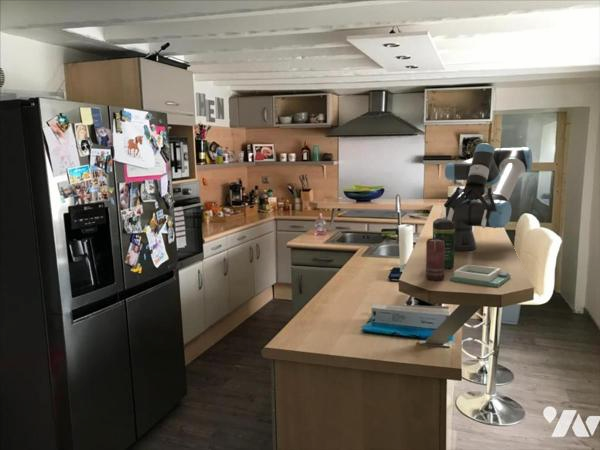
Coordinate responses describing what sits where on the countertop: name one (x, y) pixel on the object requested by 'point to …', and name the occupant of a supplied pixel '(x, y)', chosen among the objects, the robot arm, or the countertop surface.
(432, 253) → the can
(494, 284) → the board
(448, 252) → the coffee jar
